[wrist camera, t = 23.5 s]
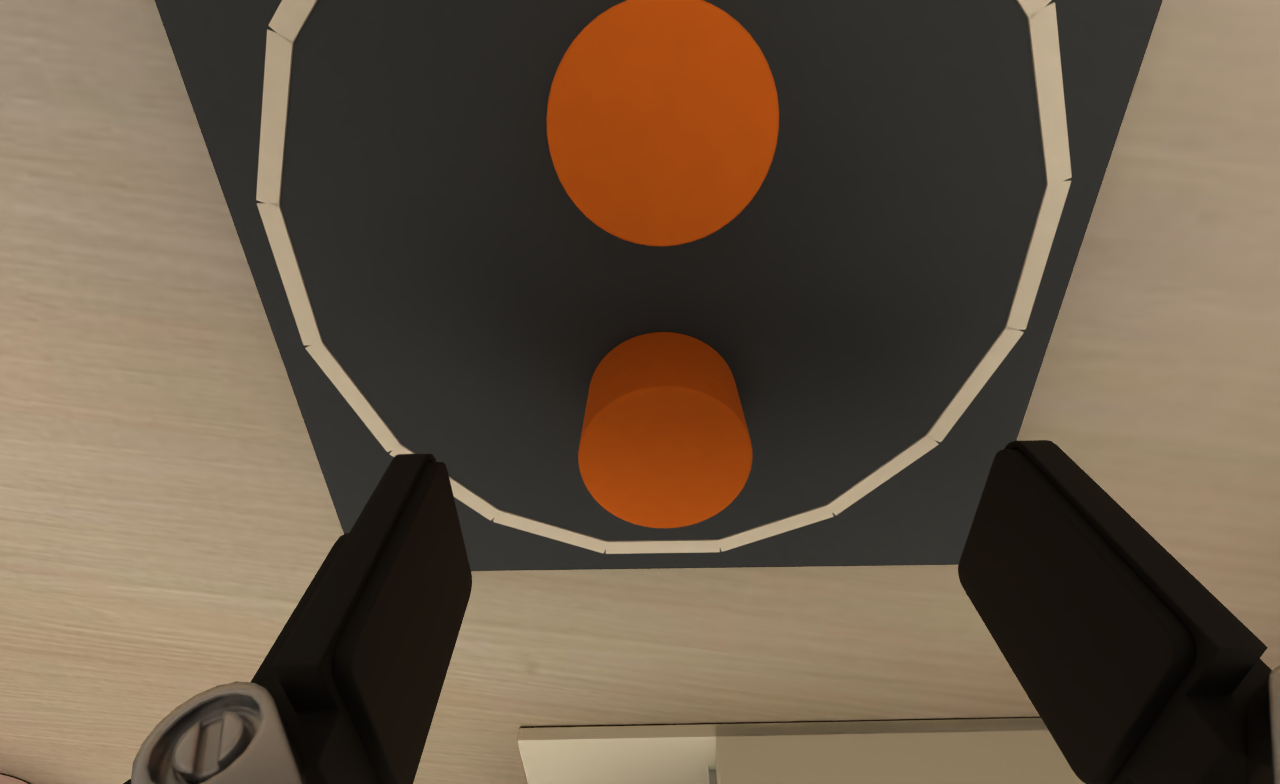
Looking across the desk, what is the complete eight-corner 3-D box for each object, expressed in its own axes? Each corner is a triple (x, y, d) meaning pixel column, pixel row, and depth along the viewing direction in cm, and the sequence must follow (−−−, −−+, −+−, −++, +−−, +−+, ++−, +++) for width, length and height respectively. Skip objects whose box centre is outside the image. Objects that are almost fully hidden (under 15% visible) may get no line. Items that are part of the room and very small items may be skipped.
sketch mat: (64, -293, 10) (41, -307, 10) (1262, -350, 10) (1288, -367, 9) (362, 563, 20) (356, 574, 20) (969, 555, 20) (976, 566, 19)
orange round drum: (583, 332, 15) (570, 388, 13) (740, 328, 15) (759, 384, 13) (593, 459, 17) (584, 530, 15) (732, 457, 17) (747, 528, 15)
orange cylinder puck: (558, 9, 12) (533, -4, 9) (759, 2, 12) (790, -12, 9) (574, 213, 14) (557, 249, 11) (747, 209, 14) (770, 244, 11)
